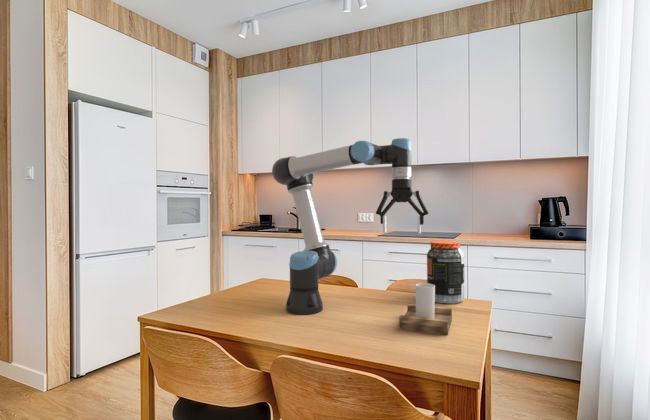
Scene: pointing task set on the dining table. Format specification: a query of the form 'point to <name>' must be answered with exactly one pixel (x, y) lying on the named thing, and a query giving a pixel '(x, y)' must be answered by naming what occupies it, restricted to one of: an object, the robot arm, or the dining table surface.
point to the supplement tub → (446, 271)
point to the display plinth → (427, 328)
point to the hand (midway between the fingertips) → (401, 232)
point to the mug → (425, 300)
